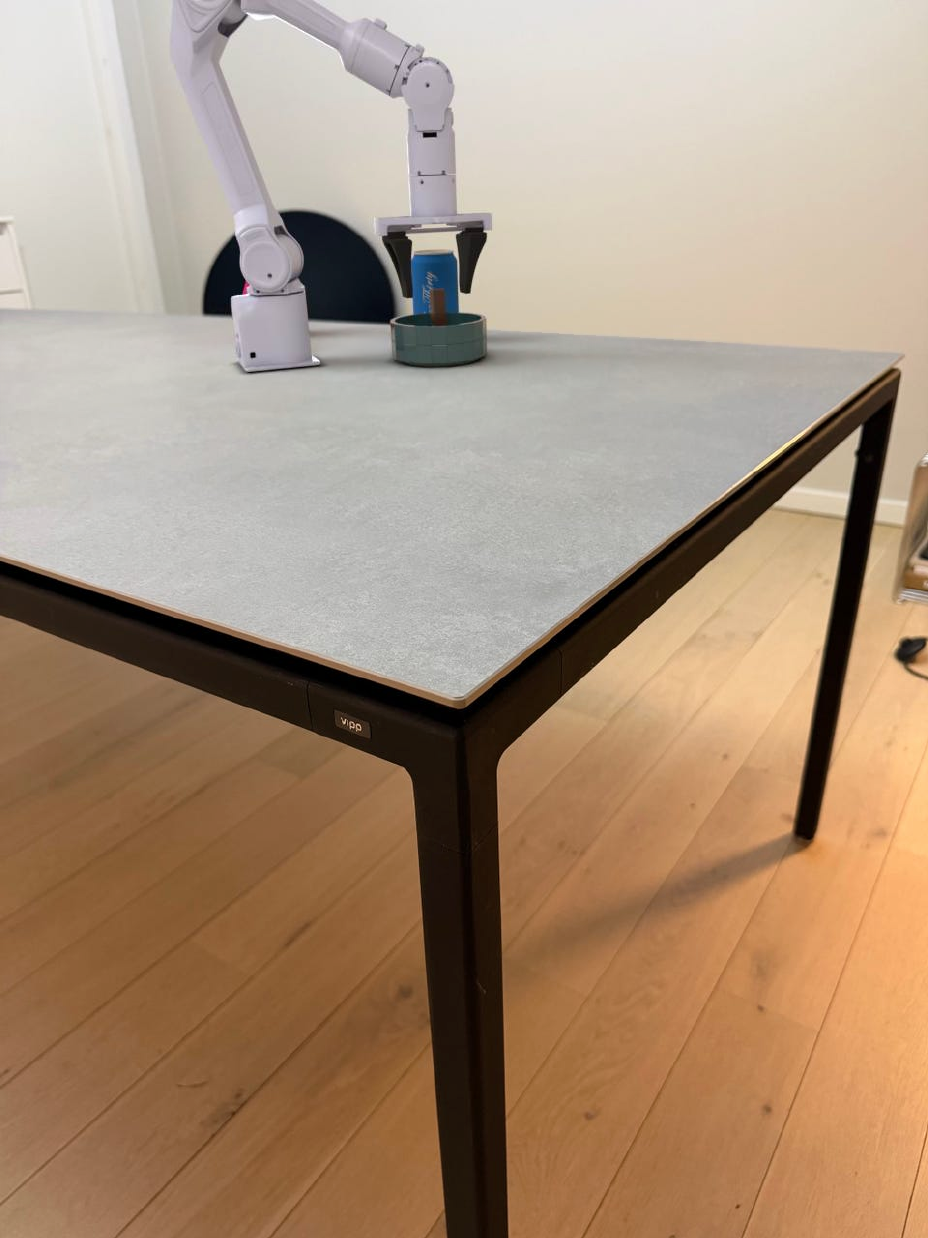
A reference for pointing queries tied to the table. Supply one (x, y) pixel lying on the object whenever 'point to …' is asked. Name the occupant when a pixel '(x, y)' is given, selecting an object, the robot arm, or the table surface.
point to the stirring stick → (438, 307)
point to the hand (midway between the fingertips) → (436, 295)
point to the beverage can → (434, 278)
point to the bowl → (439, 339)
